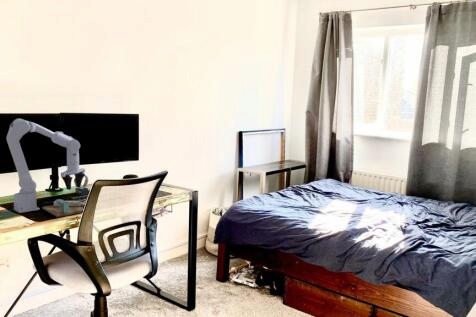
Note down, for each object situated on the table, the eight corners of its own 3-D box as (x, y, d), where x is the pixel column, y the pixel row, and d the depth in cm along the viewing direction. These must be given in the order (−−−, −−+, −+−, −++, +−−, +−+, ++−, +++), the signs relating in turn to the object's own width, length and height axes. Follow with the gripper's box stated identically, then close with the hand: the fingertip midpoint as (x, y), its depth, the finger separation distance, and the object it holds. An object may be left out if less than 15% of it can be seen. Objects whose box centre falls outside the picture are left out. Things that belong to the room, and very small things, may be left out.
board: (57, 216, 193) (57, 214, 193) (42, 208, 205) (42, 206, 205) (99, 209, 208) (99, 207, 208) (83, 201, 220) (83, 200, 220)
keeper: (64, 213, 196) (63, 203, 195) (56, 209, 202) (55, 199, 201) (69, 212, 198) (68, 202, 197) (60, 208, 204) (60, 199, 203)
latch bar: (88, 204, 212) (88, 198, 212) (87, 206, 208) (87, 200, 208) (55, 204, 209) (55, 198, 208) (53, 206, 205) (53, 200, 205)
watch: (72, 194, 235) (72, 175, 233) (84, 191, 242) (84, 173, 240) (79, 195, 232) (78, 176, 230) (90, 193, 239) (90, 174, 237)
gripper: (77, 159, 220) (78, 184, 222) (55, 163, 207) (56, 189, 209) (88, 160, 217) (88, 186, 220) (66, 164, 204) (67, 191, 206)
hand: (73, 188), depth 214 cm, fingers open, 6 cm apart
